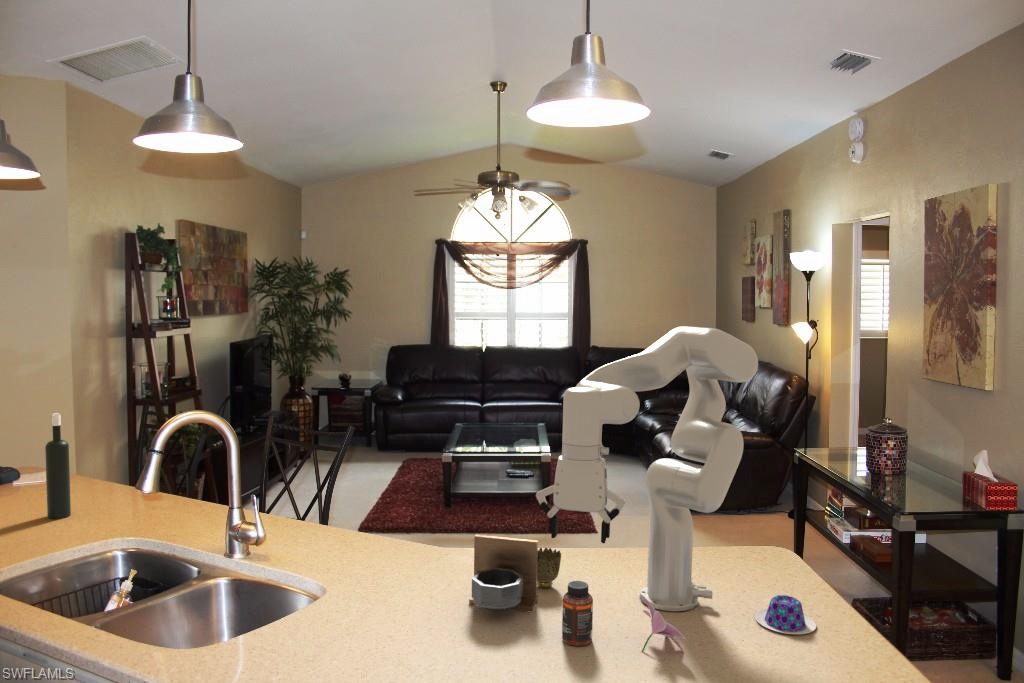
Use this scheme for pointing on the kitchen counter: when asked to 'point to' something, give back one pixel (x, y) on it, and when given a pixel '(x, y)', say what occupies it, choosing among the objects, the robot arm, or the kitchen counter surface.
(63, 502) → the wine bottle
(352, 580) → the kitchen counter surface
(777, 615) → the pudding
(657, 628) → the lily
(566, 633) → the supplement bottle
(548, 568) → the cup
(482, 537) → the cup bracket
